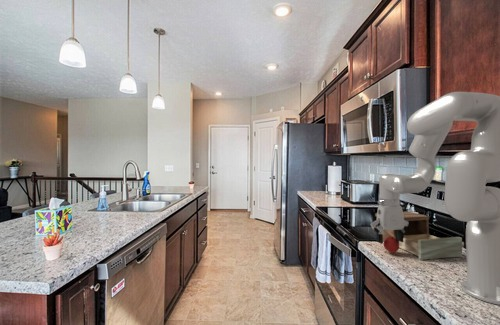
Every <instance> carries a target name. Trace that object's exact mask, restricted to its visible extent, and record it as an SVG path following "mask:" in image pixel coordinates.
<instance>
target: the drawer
mask: <svg viewBox="0 0 500 325" xmlns="http://www.w3.org/2000/svg"><path fill="white" fill-rule="evenodd" d="M403 241H404V242H400V241H398V243H399V249H401V250H404V251H407V252H408V253H411V254H413V255H415V256H417V257H418V260H421V261H422V260H432V259H446V258H454V257H455V258H456V257H463V237H460V236H452V237H437V236H434V235H431V234H430V233H429V234H419V235H405V236H404V239H403Z"/></svg>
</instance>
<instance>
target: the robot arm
mask: <svg viewBox="0 0 500 325" xmlns="http://www.w3.org/2000/svg"><path fill="white" fill-rule="evenodd" d="M407 120H408V121H407V122H406V128H407V131H408V132H409V134H411V135H413V136H414V138H413V140H412V141H411V144H410V146H409V148H408V152H409V153H410V154H411V156H413V157H414V158H416V159H417V160H418V162H417V163H418V164H417V167H416V169H415V170H414V172H413V174H394V173H393V174H392V173H389V174H388V173H386V174H381V175H379V186H378V187H379V200H377V204H379V205H377V206H378V207H377V212H376V213H377V216H376V220H373V221H372V222H371V223H370V226H371V228H372V230H373V231H374V232H375V234H376V235H375V238H376V239H375V241H376V242H377V243H378V244H380V245H381V244H384V243H383V235H382V234H381V233H382V232H383V231H384V230H398V231H397V239H396V240H397V241H398V242H399V241H400V242H404V241H403V239H404V234H403V233H405V230H406V229H407V226H408V224H409V222H407V221H405V220H404V216H403V212H404V210H403V208H402V206H401V204H400V200H401V197H400V195H403V194H405V195H406V194H414V193H415V194H417V193H422V192H423V191H425V190H427V188H428V187H429V185H430V184H431V183H432V181H433V178H435V174H436V170H437V168H436V166H437V165H436V161H435V158H436V156H437V154H438V152H439V150H440V147H441V146H442V145H443V143H444V141H445V139H446V137H447V135H448V134H449V132H450V130H451V128H452V127H453V122H455V121H457V122H476V123H477V125H476V126H475V128H474V129H473V132H472V135H471V144H470V149H468V150H467V149H466V150H462V151H459V152H456V153H455V154H454V155H453V156H452V157H450V159H449V161H448V163H447V165H446V169H445V181H444V182H445V185H444V200H443V201H444V202H443V203H444V206H445V209H446V212H447V213H448V214H449V215H450V216H451V217H452V218H454V219H455V220H457V221H460V222H466V228H465V250H466V251H465V254H466V256H465V258H466V277H467V278H466V279H465V280H463V281H462V282H460V288H461V290H462V291H463V292H464V293H465V294H467V295H469V296H471V297H473V298H474V299H478V300H480V301H483V302H487V303H490V304H492V305H499V306H500V188H499V187H495V186H486V184H487V183H497V182H500V95H497V94H492V93H487V92H486V93H484V92H476V91H475V92H470V91H451V92H449V93H445V94H444V95H442V96H440V97H439V98H437V99H435V100H434V101H431V102H429V103H428V104H426V105H425V106H423V107H421V108H419V109H417V110H416V111H415V112H414V113H412V114H411V115H410V116H409V118H408V119H407Z"/></svg>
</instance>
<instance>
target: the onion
mask: <svg viewBox="0 0 500 325" xmlns="http://www.w3.org/2000/svg"><path fill="white" fill-rule="evenodd" d="M383 247H384V249H385V250H386V251H387V252H388V253H389V254H395V253H396V252H398V251H399V249H400V248H399V241H398V240H397V239H395V238H393V236H392V235H389V237H388V238H386V239H385V240H384V243H383Z"/></svg>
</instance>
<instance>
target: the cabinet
mask: <svg viewBox="0 0 500 325" xmlns="http://www.w3.org/2000/svg"><path fill="white" fill-rule="evenodd" d="M409 211H410V210H409ZM409 211H405V210H404V211H403V216H404V220H405V221H407V222H409V224H408V226H407V229H406V230H405V233H403V234H404V236H405V235H419V234H429V235H430V226H429V220H430V216H429V215H426V214H421V213H418V212H417V213H418V214H417V213H413V212H414V211H410V212H409ZM374 215H375V217H377V212H375V214H374ZM397 231H398V230H384V231H383V232H382V233H381V234H382V235H383V242H384V240H385V239H386V238H388V237H389V235H392V236H393V238H395V239H396V240H397Z"/></svg>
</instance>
